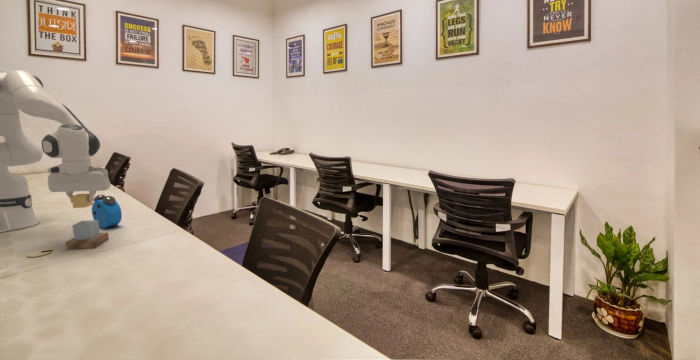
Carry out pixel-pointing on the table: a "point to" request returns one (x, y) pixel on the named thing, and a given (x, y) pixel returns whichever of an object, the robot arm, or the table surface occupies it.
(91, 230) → the slate cube
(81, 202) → the mustard cube
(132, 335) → the table surface
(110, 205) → the alarm clock
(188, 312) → the table surface
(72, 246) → the walnut base
